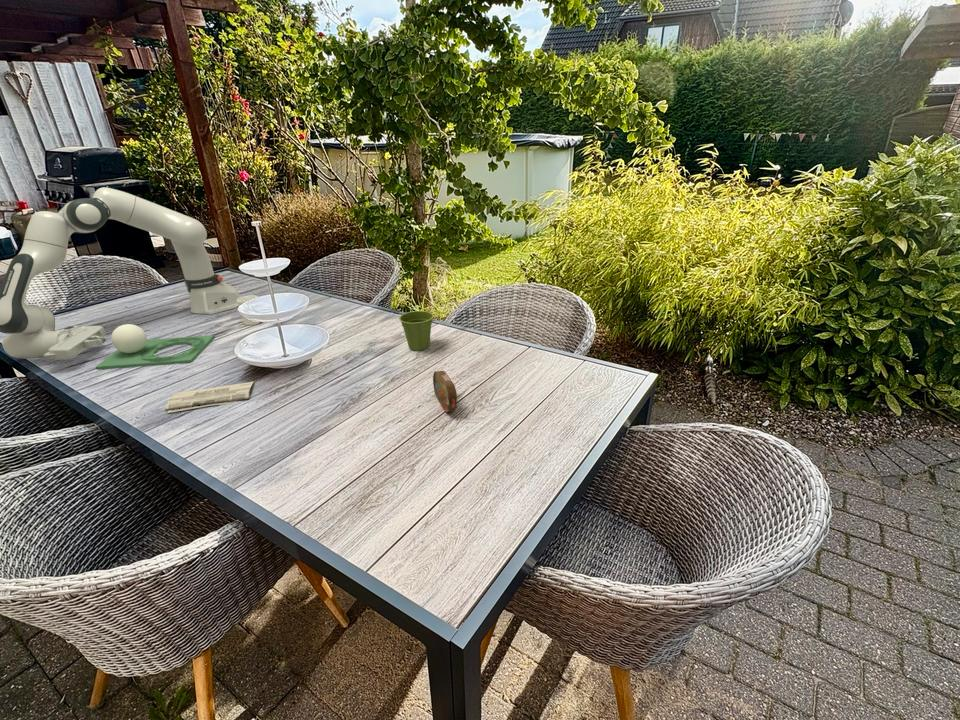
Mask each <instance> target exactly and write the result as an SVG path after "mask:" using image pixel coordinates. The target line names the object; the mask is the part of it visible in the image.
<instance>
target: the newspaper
mask: <svg viewBox="0 0 960 720" xmlns="http://www.w3.org/2000/svg"><path fill="white" fill-rule="evenodd" d="M253 384H255V380H254V381H248V382H241V383H234V384H227V385H221V386H219V385H218V386H213V387H207V388H206V387H205V388H199V389H191V390H186V391H177V392H175V393H173V395H172V396H171V397H170V398H169V399H168V400H167V402H166V404H165V407H164V410H165V411H166V413H167V414H169V413H175V412H180V411H187V410H192V409H193V410H194V409H199V408H204V407H210V406H221V405H229V404H233V403H237V402H239V401H240V402H241V401H242V400H248V399H250V396H251V393H250V392H251V387H252V386H253ZM205 404H206V405H205ZM198 405H200V406H198ZM192 406H193V407H192ZM179 408H180V409H179ZM173 409H174V410H173Z"/></svg>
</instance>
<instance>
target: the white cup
mask: <svg viewBox="0 0 960 720" xmlns="http://www.w3.org/2000/svg"><path fill="white" fill-rule="evenodd" d="M255 298H259V296H258V295H256V294H255V295H244V296H243V297H240V298H238V299H237V303H238V307H237V308H239V306H240V305H242V304H243V303H245V302H247V301H249V300H252V299H255ZM241 318H242V320H243V323H244V325H246V326H254V325H258V324H260V323H258V322H253V321H251V320H248V319H246V318H244V317H242V316H241Z"/></svg>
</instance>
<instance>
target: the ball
mask: <svg viewBox="0 0 960 720" xmlns="http://www.w3.org/2000/svg"><path fill="white" fill-rule="evenodd" d="M110 338H111V339H110V340H111V343H112V345H113V347H114V348H115V349H116V351H117V350H119V351H121V352H124V353H135V352H138V351H140V350H141V349H143V347H144V346H145V345H146V342H147V340H148V337H147V334H146V332H145V331H144V329H143V328H141V327H140V326H139V325H135V324H132V323H129V324H128V323H127V324H121V325H119V326H117V327H116V328H115V329H114V330H113V331H112V333H111V336H110Z"/></svg>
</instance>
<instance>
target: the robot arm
mask: <svg viewBox="0 0 960 720" xmlns="http://www.w3.org/2000/svg"><path fill="white" fill-rule="evenodd" d="M92 195H93V196H92V197H85V198H77V199H74V200H71V201H68V202H67V203H66V204H65V205H64V206H62V207H61V208H60V209H59V210H58V211H57V212H53V211H47V210H41V211H36V212H34V213H33V214H32V215H31V217H30V220H29V221H28V225H27V227H26V230H25V233H24V238H23V242H22V246H21V249H20V251H19V252H18V254H16V255H15V256H14V257H12V259H11V261H10V263H9V265H8V268H7V269H6V273H5V277H4V279H3V282H2V284H1V287H0V333H1V334H8V335H6V336H5V337H4V338H3V339H2V342H1V344H2V345H1V346H2V348H3V349H4V352H5V353H6V354H8V355H9V356H11V357H13V358H17V359H23V360H24V359H26V360H27V359H29V360H30V359H42V358H51V359H53V360H70V359H74V358H76V357H77V356H79V355H80V354H81V353H83V352H84V351H86V350H87V349H89V348H91V347H96V346H100V345H103V344H104V343H105V342H107V338H106V336H107V333H106V332H107V331H106V330H105V328H104V326H101V325H85V326H83V325H82V326H78V325H71V326H68V327H66V328H62V329H57V330H56V317H55V314H54V313H53V312H52V310H50V309H49V308H47V307H46V306H40V305H34V304H25V299H26V297H27V294H28V291H29V287H30V283H32V280H33V279H34V277H36V276H39V275H40V274H42V273H46V272H51V271H54V270H57V269H58V268H60V267H61V266H62V265H64V262H65V260H66V258H67V252H68V247H69V246H68V245H69V241H70V238H71V235H72V234H89V233H93V232H96V231H97V230H99V229H101V228H102V227H103V226H104V225H105V224H106V222H107V221H108V220H115V221H118V222H121V223H123V224H126V225H128V226H131V227H134V228H137V229H140V230H143V231H146V232H149V233H151V234H153V235H157V236H160V237H162V238H165V239H168V240H170V242H171V244H172V247H173V249H174V252H175V253H176V255H177V256H176V257H177V258H178V261H179V263H180V267H181V270H182V274H183V276H184V279H183V280H184V284H185V288H186V290H187V292H188V294H189V295H188V296H189V303H190V312H191V313H192V314H200V315H201V314H207V315H214V314H217V313H221V312H225V311H229V310H233V309H236V308H238V307H237V306H238V303H237V299H238V298H240V297H244V296H243V295H240V292H239V290H238V289H237V288H236V287H235V286H232V285H230V284H228V283H226V282H223V281H224V278H223V276H222V275H220V274H218V273H215V272H214V268H213V265H212V262H211V259H210V258H211V257H210V255H209V253H208V251H207V249H206V247H205V245H204V243H205V242H206V241H207V237H208V232H207V229H206V227H205V225H204V224H203V223H202V222H200V221H199V220H197V218H196V219H195V218H193V217H191V216H188V215H185V214H183V213H181V212H178V211H175V210H172V209H170V208H167V207H166V206H162V205H160V204H157V203H155V202H152V201H150V200H147V199H144V198H142V197H140V196H137V195H134V194H131V193H129V192H126V191H123V190H119V189H115V188H111V187H105V186H103V187H100V188H98V189H96V191H95V192H94V193H93V194H92Z"/></svg>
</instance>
